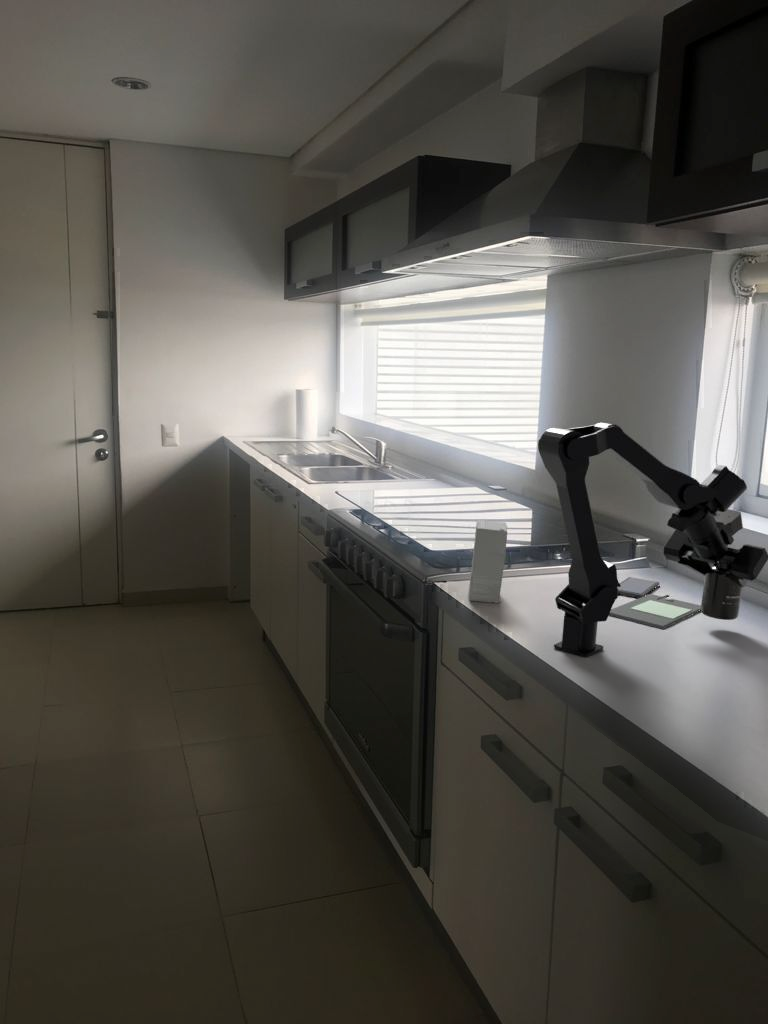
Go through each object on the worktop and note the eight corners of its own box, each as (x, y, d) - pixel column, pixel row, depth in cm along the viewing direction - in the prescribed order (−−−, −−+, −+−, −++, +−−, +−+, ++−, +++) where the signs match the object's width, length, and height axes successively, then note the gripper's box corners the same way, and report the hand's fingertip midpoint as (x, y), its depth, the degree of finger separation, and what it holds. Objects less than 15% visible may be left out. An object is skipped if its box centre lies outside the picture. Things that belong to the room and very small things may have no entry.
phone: (641, 598, 184) (642, 594, 184) (609, 593, 188) (610, 589, 188) (659, 585, 196) (659, 581, 196) (628, 580, 200) (629, 576, 200)
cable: (654, 604, 181) (654, 601, 181) (614, 594, 187) (614, 591, 187) (669, 598, 186) (669, 594, 186) (630, 589, 192) (630, 585, 192)
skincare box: (468, 590, 185) (473, 518, 182) (501, 593, 184) (506, 520, 181) (468, 601, 177) (472, 526, 174) (503, 604, 176) (508, 528, 173)
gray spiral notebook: (662, 628, 164) (663, 624, 164) (605, 614, 172) (606, 609, 172) (704, 609, 179) (704, 604, 178) (650, 596, 187) (650, 592, 186)
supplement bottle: (732, 623, 160) (740, 560, 158) (695, 615, 164) (702, 553, 162) (742, 615, 165) (750, 554, 163) (706, 607, 169) (714, 548, 167)
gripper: (770, 504, 151) (794, 559, 159) (678, 488, 165) (704, 539, 174) (740, 552, 147) (766, 606, 156) (648, 531, 162) (677, 581, 170)
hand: (727, 580), depth 164 cm, fingers closed on supplement bottle, 7 cm apart
